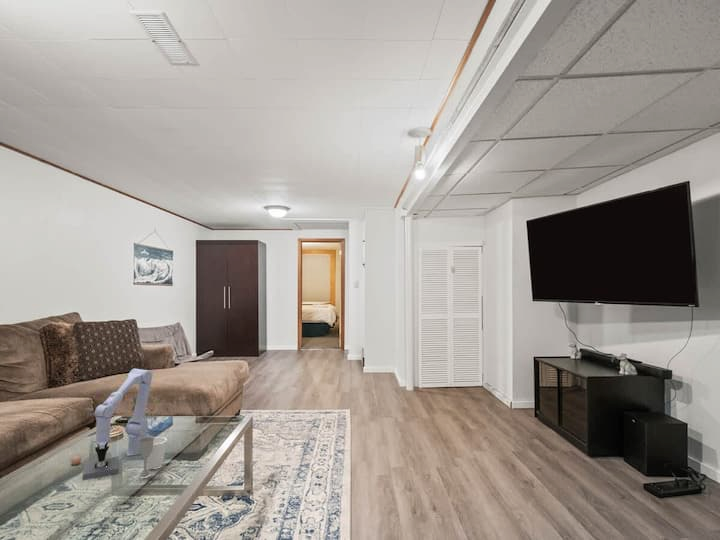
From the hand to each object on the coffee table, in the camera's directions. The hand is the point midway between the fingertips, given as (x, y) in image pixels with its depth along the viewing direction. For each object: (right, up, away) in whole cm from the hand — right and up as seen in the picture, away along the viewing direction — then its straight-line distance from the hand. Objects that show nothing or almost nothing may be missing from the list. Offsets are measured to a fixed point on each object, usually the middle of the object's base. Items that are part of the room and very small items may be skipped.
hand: (101, 457), depth 197 cm
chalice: (+23, -7, -4) cm, 24 cm away
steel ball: (0, -4, 0) cm, 4 cm away
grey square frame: (0, -6, 0) cm, 6 cm away
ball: (-16, -3, +5) cm, 17 cm away
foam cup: (+23, -7, +6) cm, 25 cm away
